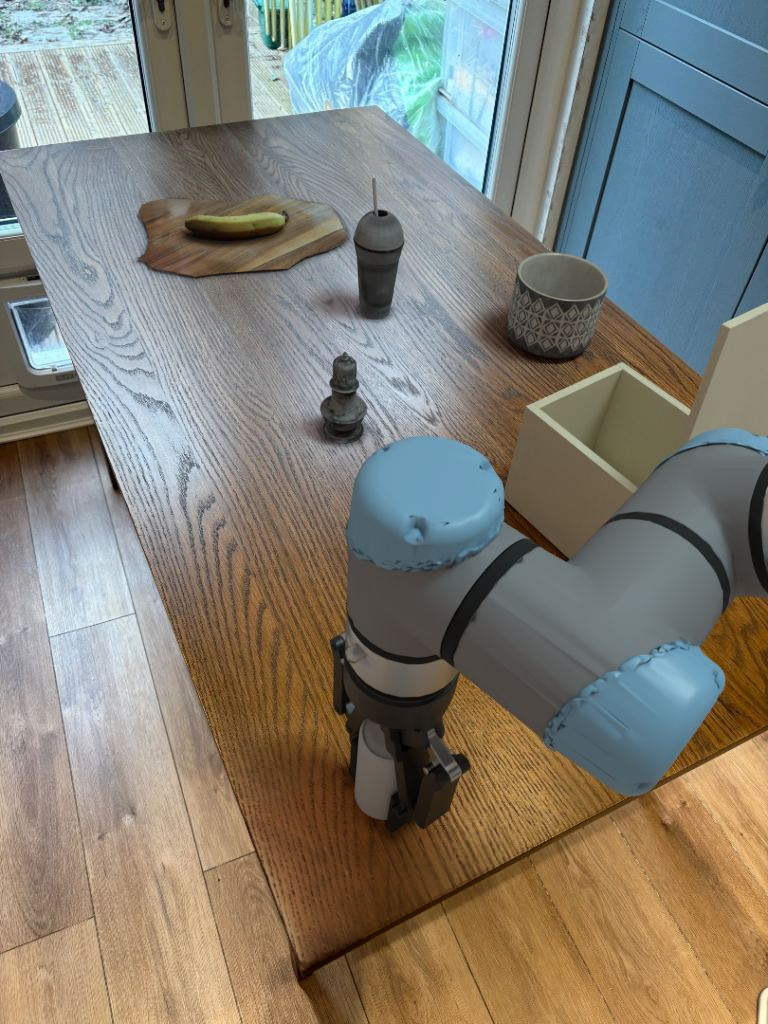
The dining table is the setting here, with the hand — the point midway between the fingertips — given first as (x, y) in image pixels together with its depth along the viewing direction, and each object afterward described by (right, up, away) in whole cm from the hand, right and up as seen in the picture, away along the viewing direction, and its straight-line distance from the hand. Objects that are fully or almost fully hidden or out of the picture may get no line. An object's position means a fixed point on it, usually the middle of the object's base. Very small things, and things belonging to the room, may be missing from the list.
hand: (382, 793), depth 64 cm
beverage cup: (-1, +55, +50) cm, 74 cm away
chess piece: (-5, +35, +31) cm, 47 cm away
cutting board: (-24, +72, +64) cm, 99 cm away
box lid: (+31, +34, +2) cm, 47 cm away
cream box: (+26, +23, +23) cm, 42 cm away
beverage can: (0, 0, 0) cm, 1 cm away
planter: (+24, +50, +48) cm, 73 cm away
